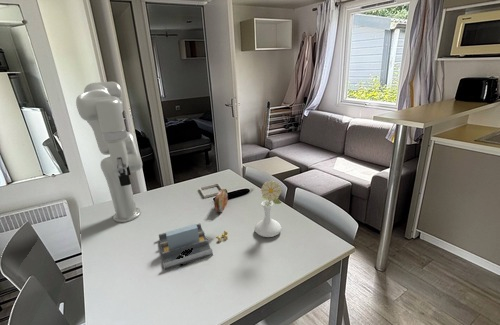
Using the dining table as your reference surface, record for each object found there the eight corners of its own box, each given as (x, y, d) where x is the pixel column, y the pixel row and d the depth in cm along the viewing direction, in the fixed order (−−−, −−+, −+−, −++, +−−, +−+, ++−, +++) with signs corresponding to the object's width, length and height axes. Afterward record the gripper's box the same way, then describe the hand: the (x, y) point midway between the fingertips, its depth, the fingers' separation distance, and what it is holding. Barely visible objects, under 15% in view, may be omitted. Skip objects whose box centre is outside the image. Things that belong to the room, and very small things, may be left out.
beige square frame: (199, 189, 156) (199, 187, 156) (218, 185, 160) (218, 183, 160) (204, 198, 146) (203, 195, 145) (224, 193, 150) (224, 190, 149)
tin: (220, 215, 129) (218, 200, 126) (214, 215, 129) (212, 199, 126) (229, 200, 142) (227, 186, 139) (223, 200, 143) (221, 186, 140)
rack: (159, 239, 113) (158, 234, 112) (201, 227, 120) (200, 223, 119) (164, 270, 96) (163, 264, 95) (212, 255, 102) (212, 249, 101)
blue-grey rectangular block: (168, 246, 107) (165, 232, 104) (198, 238, 111) (195, 223, 108) (169, 251, 104) (166, 236, 102) (199, 242, 108) (197, 227, 106)
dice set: (227, 233, 115) (226, 230, 115) (230, 240, 111) (229, 236, 110) (215, 236, 114) (215, 233, 113) (218, 243, 109) (217, 239, 109)
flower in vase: (249, 232, 114) (246, 180, 105) (266, 221, 122) (264, 170, 113) (273, 245, 106) (271, 188, 97) (289, 231, 113) (289, 178, 105)
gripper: (105, 131, 98) (116, 174, 105) (100, 143, 83) (113, 191, 90) (127, 128, 101) (136, 170, 107) (126, 139, 86) (137, 187, 92)
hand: (126, 180), depth 98 cm, fingers open, 9 cm apart
